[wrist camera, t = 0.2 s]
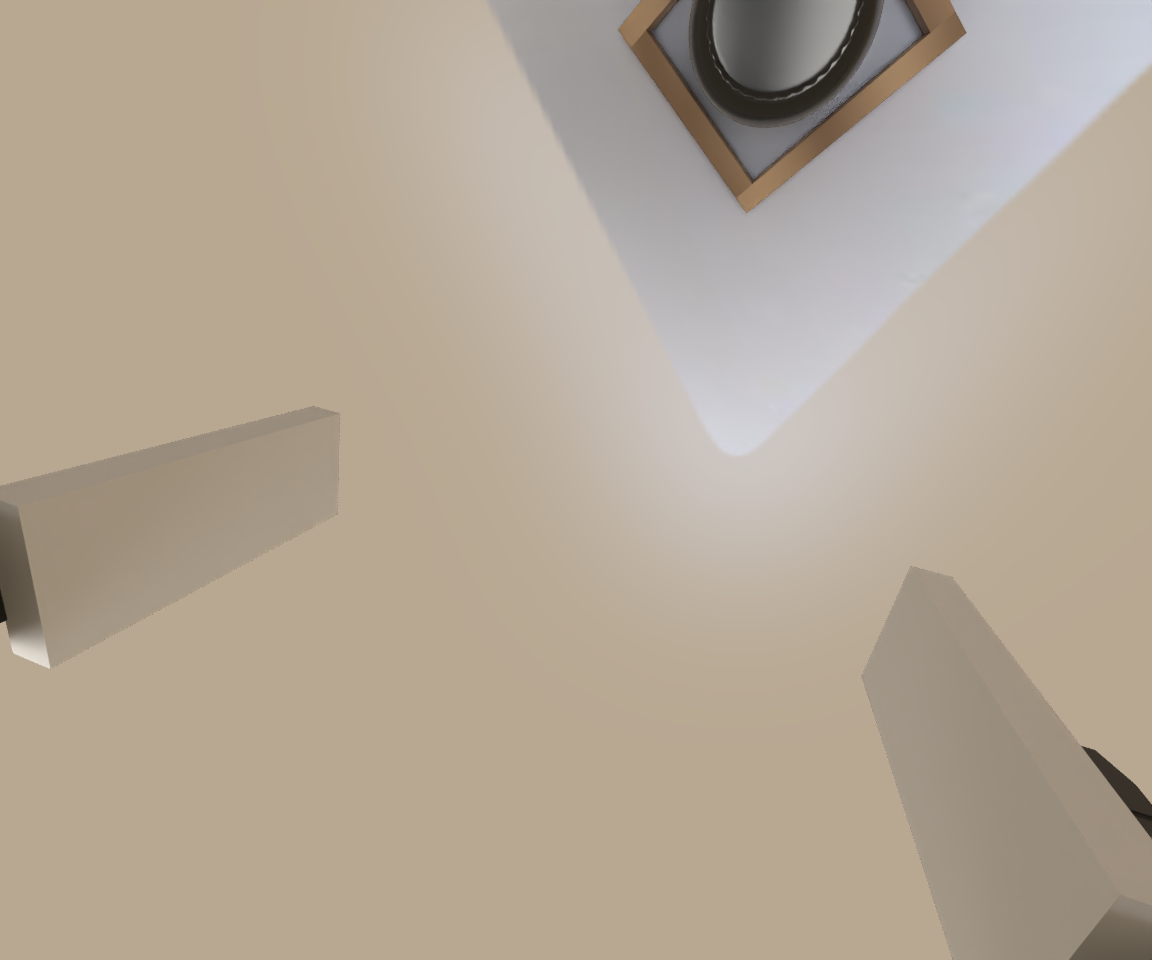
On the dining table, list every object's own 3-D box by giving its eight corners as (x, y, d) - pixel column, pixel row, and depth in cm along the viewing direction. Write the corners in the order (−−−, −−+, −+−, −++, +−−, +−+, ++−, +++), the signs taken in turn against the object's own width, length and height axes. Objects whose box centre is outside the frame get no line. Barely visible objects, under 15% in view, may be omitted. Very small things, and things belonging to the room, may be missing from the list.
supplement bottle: (810, -110, 24) (831, -227, 15) (887, 37, 26) (947, 15, 17) (681, 29, 28) (633, 4, 19) (756, 148, 30) (747, 180, 21)
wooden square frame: (826, -214, 22) (829, -230, 21) (957, 34, 25) (966, 32, 24) (624, 31, 29) (617, 29, 28) (748, 208, 32) (746, 213, 30)
